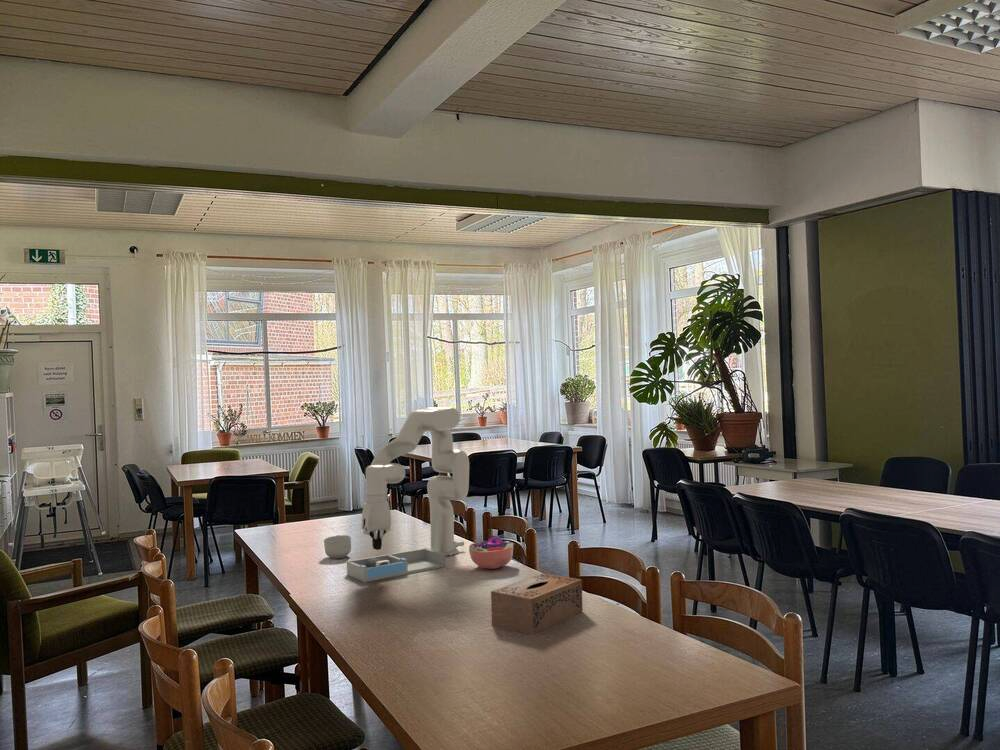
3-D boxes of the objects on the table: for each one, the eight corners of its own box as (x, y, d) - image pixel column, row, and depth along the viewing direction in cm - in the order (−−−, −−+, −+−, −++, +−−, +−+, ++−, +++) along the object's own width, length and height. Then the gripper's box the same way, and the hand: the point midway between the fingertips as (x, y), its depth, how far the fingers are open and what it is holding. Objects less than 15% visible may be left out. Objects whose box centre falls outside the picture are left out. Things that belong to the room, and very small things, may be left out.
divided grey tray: (426, 560, 314) (426, 547, 314) (445, 566, 303) (445, 552, 303) (347, 574, 294) (346, 560, 294) (364, 582, 283) (364, 567, 283)
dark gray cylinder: (366, 570, 296) (366, 558, 296) (377, 568, 298) (377, 556, 298) (379, 575, 288) (378, 562, 288) (390, 573, 290) (389, 560, 290)
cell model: (458, 571, 295) (458, 540, 295) (484, 560, 313) (484, 531, 313) (499, 575, 288) (498, 544, 288) (523, 563, 305) (522, 534, 305)
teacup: (348, 560, 318) (347, 540, 318) (321, 560, 318) (320, 540, 318) (355, 552, 332) (354, 533, 332) (329, 552, 332) (328, 533, 332)
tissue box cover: (543, 605, 250) (543, 573, 250) (582, 612, 241) (581, 579, 241) (491, 625, 230) (491, 591, 230) (532, 635, 221) (531, 599, 221)
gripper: (389, 496, 300) (390, 544, 300) (353, 499, 292) (354, 550, 291) (399, 498, 294) (400, 547, 294) (362, 502, 286) (363, 553, 285)
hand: (377, 548), depth 293 cm, fingers closed
